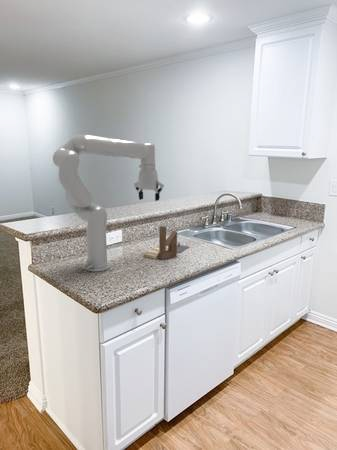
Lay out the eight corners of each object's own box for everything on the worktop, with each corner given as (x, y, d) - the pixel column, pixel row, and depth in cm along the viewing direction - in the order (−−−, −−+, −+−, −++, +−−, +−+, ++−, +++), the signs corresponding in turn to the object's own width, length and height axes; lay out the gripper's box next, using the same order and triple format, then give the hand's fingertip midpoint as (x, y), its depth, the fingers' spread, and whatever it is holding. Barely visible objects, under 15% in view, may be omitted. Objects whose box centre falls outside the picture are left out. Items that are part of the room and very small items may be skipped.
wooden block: (176, 256, 190) (177, 224, 186) (162, 260, 183) (162, 227, 179) (172, 254, 193) (172, 223, 189) (157, 258, 186) (157, 226, 182)
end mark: (179, 253, 196) (179, 252, 196) (170, 251, 198) (170, 251, 198) (189, 247, 208) (189, 246, 208) (181, 245, 210) (181, 245, 210)
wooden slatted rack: (156, 259, 185) (156, 256, 184) (143, 257, 188) (143, 253, 188) (180, 245, 211) (180, 242, 210) (168, 244, 214) (168, 240, 214)
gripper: (130, 167, 180) (131, 200, 184) (159, 168, 173) (160, 202, 177) (137, 166, 186) (138, 197, 190) (166, 167, 179) (166, 199, 183)
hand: (149, 199), depth 184 cm, fingers open, 9 cm apart
